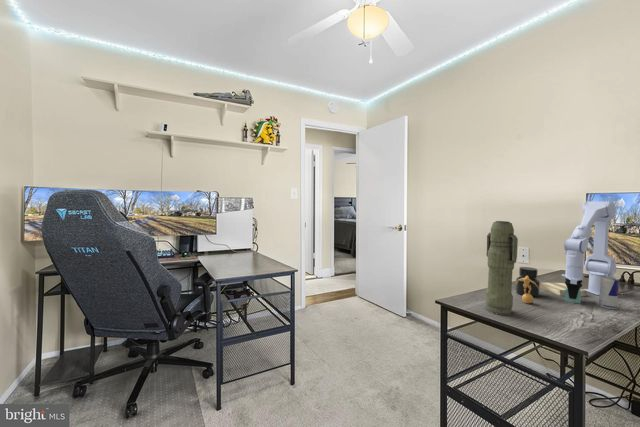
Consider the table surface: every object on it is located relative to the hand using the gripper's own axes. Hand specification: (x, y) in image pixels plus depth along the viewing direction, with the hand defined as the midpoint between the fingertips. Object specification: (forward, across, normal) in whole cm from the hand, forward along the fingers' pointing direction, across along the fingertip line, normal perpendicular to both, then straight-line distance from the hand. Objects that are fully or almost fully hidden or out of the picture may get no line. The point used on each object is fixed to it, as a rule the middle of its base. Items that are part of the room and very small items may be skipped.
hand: (572, 297), depth 126 cm
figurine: (+2, +19, -14) cm, 24 cm away
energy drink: (+2, 0, +11) cm, 11 cm away
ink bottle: (+2, +3, -16) cm, 16 cm away
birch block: (+2, -14, -4) cm, 14 cm away
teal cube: (+2, 0, 0) cm, 2 cm away
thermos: (+2, +36, -22) cm, 42 cm away
